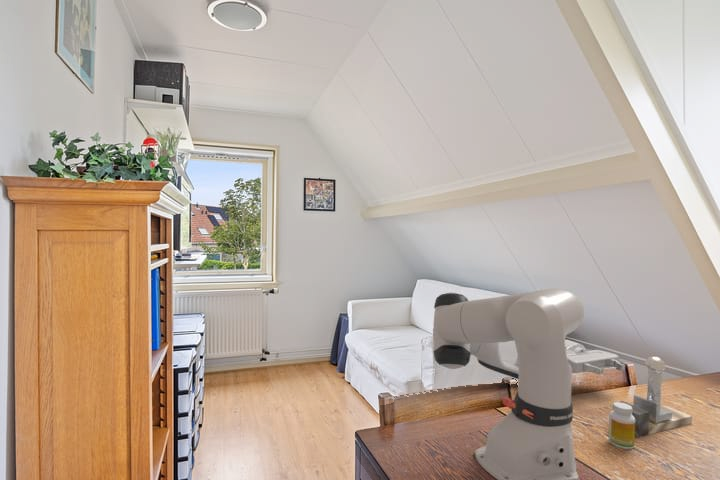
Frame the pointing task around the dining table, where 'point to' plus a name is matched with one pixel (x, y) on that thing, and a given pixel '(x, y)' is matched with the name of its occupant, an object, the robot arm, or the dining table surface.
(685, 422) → the press base
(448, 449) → the dining table surface
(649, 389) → the press slide
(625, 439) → the supplement bottle
